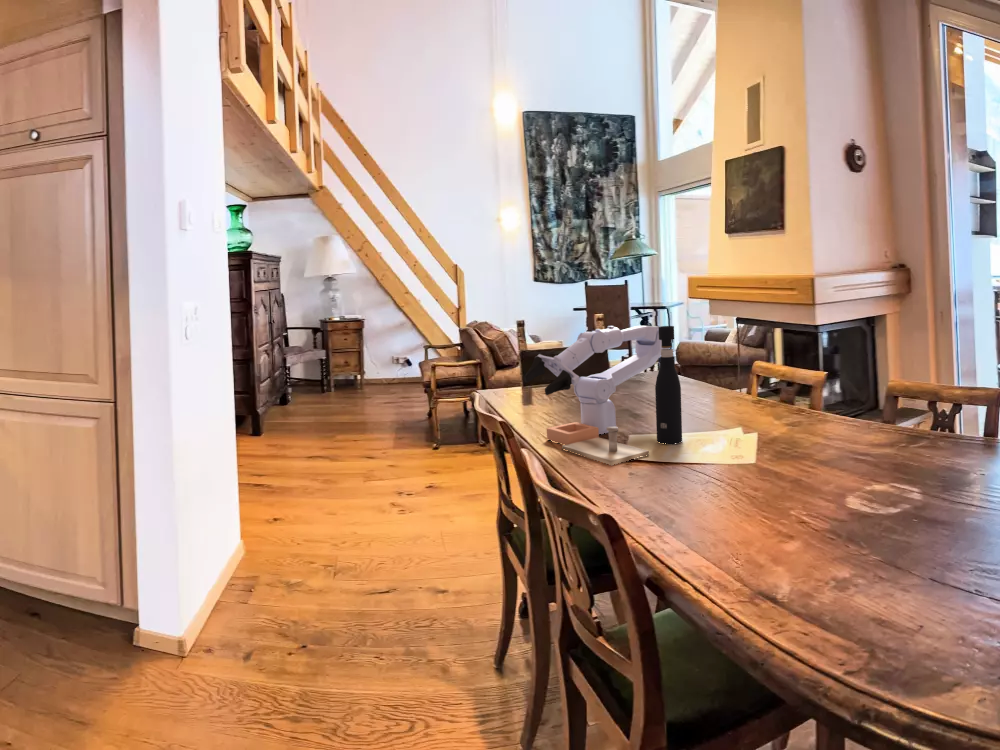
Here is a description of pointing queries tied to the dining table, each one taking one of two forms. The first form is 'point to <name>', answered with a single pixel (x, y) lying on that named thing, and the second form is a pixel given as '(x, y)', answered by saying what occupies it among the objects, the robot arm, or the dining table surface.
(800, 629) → the dining table surface
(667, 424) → the black water bottle
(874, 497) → the dining table surface
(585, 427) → the pink square frame
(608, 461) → the thin beige base plate
